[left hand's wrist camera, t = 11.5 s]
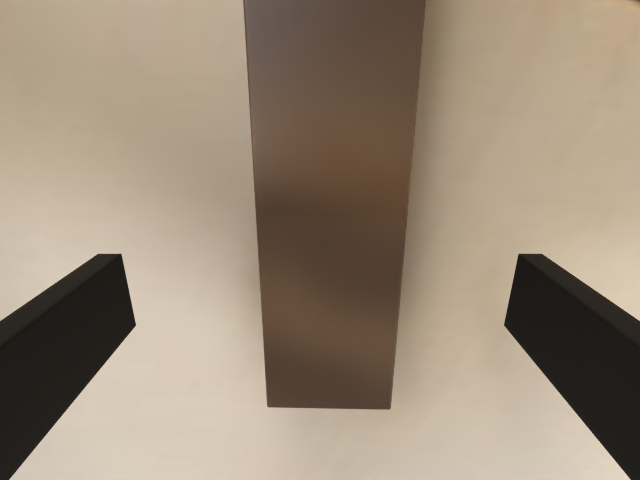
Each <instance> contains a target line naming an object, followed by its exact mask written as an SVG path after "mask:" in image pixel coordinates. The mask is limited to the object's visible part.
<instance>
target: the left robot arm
mask: <svg viewBox="0 0 640 480" xmlns="http://www.w3.org/2000/svg"><path fill="white" fill-rule="evenodd" d="M135 326H136V323H135V318H134V313H133V309H132V304H131V299H130V294H129V289H128V284H127V279H126V274H125V269H124V265H123V260H122V255H121V254H97V255H96V256H94V257H93V258H92V259H90V260H89V261H87V262H86V263H84V264H83V265H81V266H80V267H78V268H77V269H76V270H74V271H73V272H71V273H70V274H68V275H67V276H65V277H64V278H62V279H61V280H60V281H58V282H57V283H55V284H54V285H52V286H51V287H49V288H48V289H46V290H45V291H44V292H42V293H41V294H39V295H38V296H36V297H35V298H33V299H32V300H30V301H29V302H28V303H26V304H25V305H23V306H22V307H20V308H19V309H17V310H16V311H14V312H13V313H12V314H10V315H9V316H7V317H6V318H4V319H3V320H1V321H0V480H9V479H10V478H11V477H12V475H13V474H14V473H15V472H16V471H17V469H18V468H19V467H20V466H21V465H22V463H23V462H24V461H25V460H26V458H27V457H28V456H29V455H30V454H31V452H32V451H33V450H34V449H35V447H36V446H37V445H38V444H39V443H40V441H41V440H42V439H43V438H44V437H45V435H46V434H47V433H48V432H49V430H50V429H51V428H52V427H53V426H54V424H55V423H56V422H57V421H58V420H59V418H60V417H61V416H62V415H63V413H64V412H65V411H66V410H67V409H68V407H69V406H70V405H71V404H72V402H73V401H74V400H75V399H76V398H77V396H78V395H79V394H80V393H81V392H82V390H83V389H84V388H85V387H86V385H87V384H88V383H89V382H90V381H91V379H92V378H93V377H94V376H95V375H96V373H97V372H98V371H99V370H100V368H101V367H102V366H103V365H104V364H105V362H106V361H107V360H108V359H109V357H110V356H111V355H112V354H113V353H114V351H115V350H116V349H117V348H118V347H119V345H120V344H121V343H122V342H123V340H124V339H125V338H126V337H127V336H128V334H129V333H130V332H131V331H132V329H133V328H134V327H135ZM504 326H505V327H506V328H507V329H508V331H509V332H510V333H511V334H512V336H513V337H514V338H515V339H516V340H517V342H518V343H519V344H520V345H521V347H522V348H523V349H524V350H525V351H526V353H527V354H528V355H529V356H530V357H531V359H532V360H533V361H534V362H535V364H536V365H537V366H538V367H539V368H540V370H541V371H542V372H543V373H544V375H545V376H546V377H547V378H548V379H549V381H550V382H551V383H552V384H553V385H554V387H555V388H556V389H557V390H558V392H559V393H560V394H561V395H562V396H563V398H564V399H565V400H566V401H567V402H568V404H569V405H570V406H571V407H572V409H573V410H574V411H575V412H576V413H577V415H578V416H579V417H580V418H581V420H582V421H583V422H584V423H585V424H586V426H587V427H588V428H589V429H590V430H591V432H592V433H593V434H594V435H595V437H596V438H597V439H598V440H599V441H600V443H601V444H602V445H603V446H604V447H605V449H606V450H607V451H608V452H609V454H610V455H611V456H612V457H613V458H614V460H615V461H616V462H617V463H618V465H619V466H620V467H621V468H622V469H623V471H624V472H625V473H626V474H627V475H628V477H629V478H630V479H631V480H640V321H639V320H637V319H636V318H634V317H633V316H631V315H630V314H628V313H627V312H626V311H624V310H623V309H621V308H620V307H618V306H617V305H615V304H614V303H612V302H611V301H610V300H608V299H607V298H605V297H604V296H602V295H601V294H599V293H598V292H596V291H595V290H594V289H592V288H591V287H589V286H588V285H586V284H585V283H583V282H582V281H580V280H579V279H578V278H576V277H575V276H573V275H572V274H570V273H569V272H567V271H566V270H564V269H563V268H562V267H560V266H559V265H557V264H556V263H554V262H553V261H551V260H550V259H548V258H547V257H546V256H544V255H543V254H519V255H518V260H517V265H516V269H515V274H514V279H513V284H512V289H511V294H510V299H509V304H508V309H507V313H506V318H505V323H504Z"/></svg>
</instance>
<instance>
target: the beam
mask: <svg viewBox="0 0 640 480" xmlns="http://www.w3.org/2000/svg"><path fill="white" fill-rule="evenodd" d="M243 3H244V20H245V37H246V54H247V71H248V88H249V105H250V121H251V138H252V155H253V172H254V189H255V206H256V223H257V240H258V257H259V274H260V291H261V308H262V325H263V342H264V359H265V376H266V393H267V406H268V407H281V408H335V409H388V410H389V409H390V408H391V399H392V387H393V375H394V364H395V352H396V341H397V329H398V317H399V306H400V294H401V283H402V271H403V260H404V248H405V236H406V225H407V213H408V202H409V190H410V178H411V167H412V155H413V144H414V132H415V120H416V109H417V97H418V86H419V74H420V63H421V51H422V39H423V28H424V16H425V5H426V0H243Z"/></svg>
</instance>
